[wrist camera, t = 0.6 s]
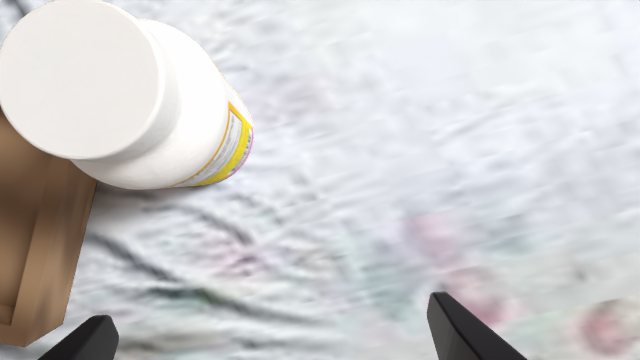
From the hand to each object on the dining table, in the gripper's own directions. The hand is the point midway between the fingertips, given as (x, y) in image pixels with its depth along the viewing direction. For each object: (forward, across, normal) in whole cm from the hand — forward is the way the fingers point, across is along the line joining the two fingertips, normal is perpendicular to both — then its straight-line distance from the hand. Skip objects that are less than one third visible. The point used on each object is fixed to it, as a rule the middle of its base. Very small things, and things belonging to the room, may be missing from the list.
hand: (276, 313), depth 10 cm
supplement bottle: (+15, +5, 0) cm, 16 cm away
